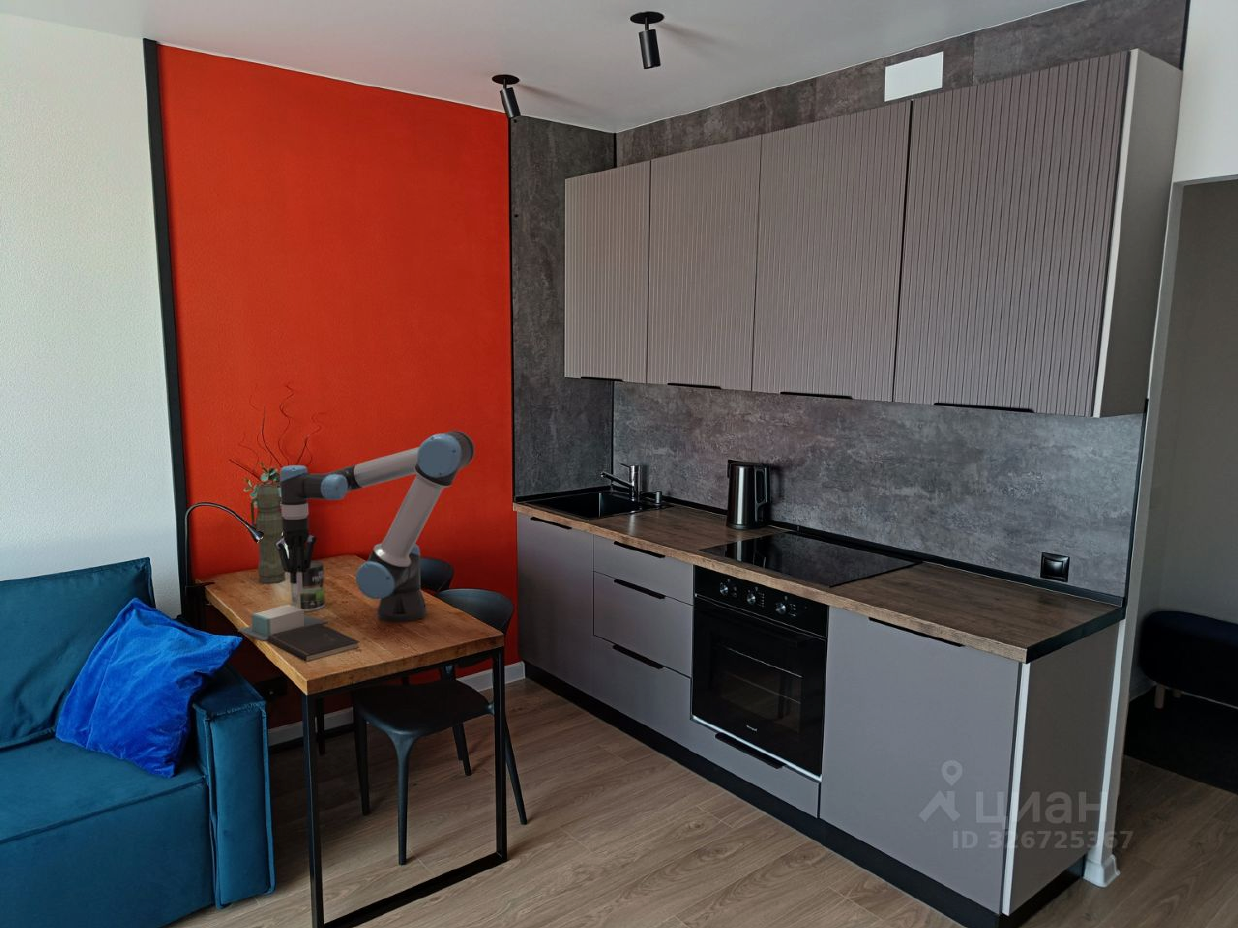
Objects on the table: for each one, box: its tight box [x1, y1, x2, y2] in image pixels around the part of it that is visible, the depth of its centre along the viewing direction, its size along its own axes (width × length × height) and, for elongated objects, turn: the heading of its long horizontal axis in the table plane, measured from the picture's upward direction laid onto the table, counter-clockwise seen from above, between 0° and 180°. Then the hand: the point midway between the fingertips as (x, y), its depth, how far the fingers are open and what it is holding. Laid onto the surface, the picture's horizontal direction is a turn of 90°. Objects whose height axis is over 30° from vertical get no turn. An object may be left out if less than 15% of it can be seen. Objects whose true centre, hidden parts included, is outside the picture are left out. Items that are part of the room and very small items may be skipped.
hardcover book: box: [267, 623, 360, 663], centre depth 242 cm, size 16×23×2 cm
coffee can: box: [290, 560, 326, 612], centre depth 276 cm, size 10×10×14 cm
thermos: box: [249, 483, 286, 585], centre depth 305 cm, size 9×12×35 cm
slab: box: [251, 604, 305, 636], centre depth 254 cm, size 8×5×12 cm
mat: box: [237, 613, 328, 642], centre depth 257 cm, size 14×21×1 cm, turn 143°
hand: (297, 592), depth 259 cm, fingers closed
